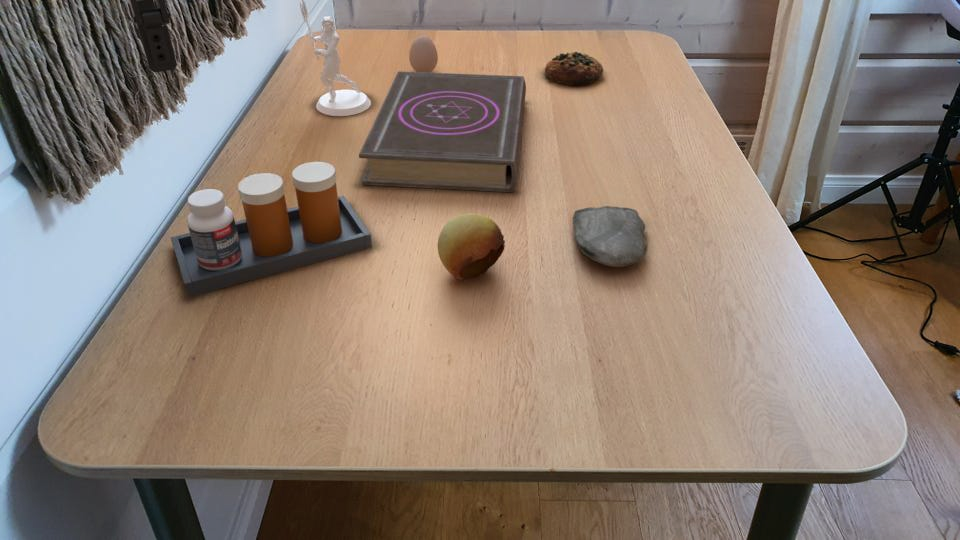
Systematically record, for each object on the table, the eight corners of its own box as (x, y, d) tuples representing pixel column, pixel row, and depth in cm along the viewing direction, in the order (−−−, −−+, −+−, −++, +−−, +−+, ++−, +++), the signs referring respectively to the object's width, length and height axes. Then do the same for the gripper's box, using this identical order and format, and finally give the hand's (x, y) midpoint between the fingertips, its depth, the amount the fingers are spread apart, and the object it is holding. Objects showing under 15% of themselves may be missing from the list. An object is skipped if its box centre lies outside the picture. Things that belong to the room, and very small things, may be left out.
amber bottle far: (308, 248, 93) (298, 186, 87) (297, 227, 96) (286, 167, 91) (348, 237, 95) (340, 176, 89) (335, 218, 98) (327, 157, 93)
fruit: (513, 263, 91) (515, 208, 86) (483, 302, 85) (484, 245, 80) (458, 248, 94) (457, 194, 89) (426, 284, 88) (423, 228, 83)
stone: (571, 218, 100) (573, 197, 98) (641, 220, 99) (644, 199, 97) (574, 276, 89) (576, 254, 87) (652, 279, 88) (656, 257, 86)
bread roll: (565, 90, 133) (566, 62, 130) (532, 77, 141) (532, 50, 139) (614, 81, 137) (616, 53, 135) (580, 69, 146) (581, 43, 144)
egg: (429, 81, 136) (428, 42, 132) (404, 76, 138) (402, 38, 134) (443, 71, 140) (442, 33, 136) (418, 67, 142) (417, 29, 138)
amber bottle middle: (257, 261, 90) (243, 198, 85) (247, 240, 94) (233, 178, 89) (298, 250, 92) (287, 188, 87) (287, 230, 96) (276, 169, 90)
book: (399, 98, 130) (397, 71, 127) (525, 103, 129) (526, 76, 126) (362, 185, 106) (358, 154, 103) (516, 192, 105) (517, 161, 102)
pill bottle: (226, 275, 88) (210, 213, 83) (189, 267, 89) (171, 205, 84) (251, 251, 92) (237, 190, 87) (215, 243, 93) (199, 182, 88)
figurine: (308, 98, 130) (293, -6, 119) (359, 88, 134) (349, -14, 123) (325, 120, 123) (310, 11, 112) (378, 109, 127) (369, 3, 116)
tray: (188, 297, 85) (184, 283, 84) (174, 250, 93) (170, 237, 92) (372, 247, 94) (370, 234, 93) (345, 207, 101) (343, 195, 100)
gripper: (42, -165, 59) (104, 35, 69) (49, -140, 49) (120, 89, 59) (141, -170, 62) (186, 23, 72) (167, -148, 52) (215, 73, 62)
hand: (156, 53), depth 65 cm, fingers open, 8 cm apart
